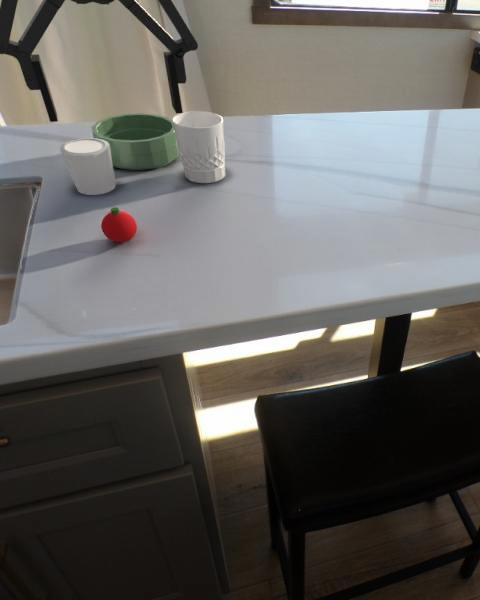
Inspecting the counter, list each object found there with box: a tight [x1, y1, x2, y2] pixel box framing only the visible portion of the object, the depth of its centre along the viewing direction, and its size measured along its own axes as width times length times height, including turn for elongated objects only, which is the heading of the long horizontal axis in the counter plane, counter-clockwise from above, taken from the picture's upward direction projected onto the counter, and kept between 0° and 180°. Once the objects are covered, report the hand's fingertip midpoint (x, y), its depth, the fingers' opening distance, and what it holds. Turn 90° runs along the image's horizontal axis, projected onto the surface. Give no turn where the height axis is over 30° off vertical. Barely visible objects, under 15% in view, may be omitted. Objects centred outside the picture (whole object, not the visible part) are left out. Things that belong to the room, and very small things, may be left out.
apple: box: [100, 206, 138, 243], centre depth 72 cm, size 4×4×5 cm
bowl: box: [91, 112, 180, 171], centre depth 93 cm, size 14×14×6 cm
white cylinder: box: [59, 137, 117, 196], centre depth 83 cm, size 7×7×7 cm
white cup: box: [171, 110, 226, 184], centre depth 89 cm, size 8×8×10 cm
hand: (118, 113), depth 63 cm, fingers open, 13 cm apart
